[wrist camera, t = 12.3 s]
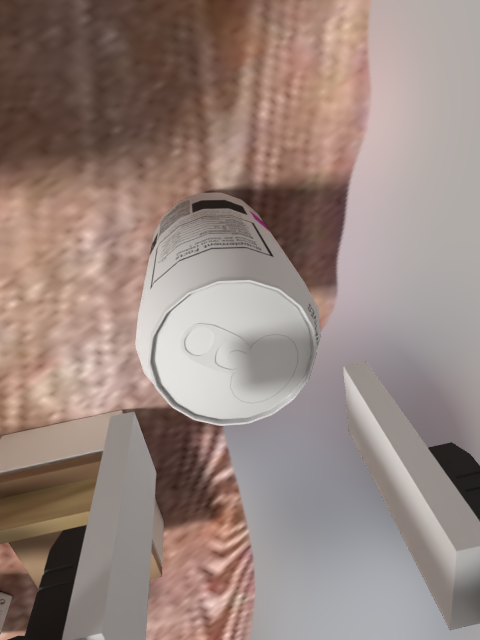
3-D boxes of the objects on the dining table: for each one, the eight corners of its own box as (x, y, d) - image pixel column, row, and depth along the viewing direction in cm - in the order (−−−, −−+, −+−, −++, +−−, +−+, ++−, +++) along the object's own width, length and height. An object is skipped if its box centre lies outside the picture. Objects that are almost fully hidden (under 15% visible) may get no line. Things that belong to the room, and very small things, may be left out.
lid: (-22, 480, 32) (-45, 524, 29) (114, 450, 32) (106, 491, 29) (49, 593, 39) (37, 640, 35) (162, 567, 39) (160, 612, 35)
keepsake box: (2, 435, 36) (-20, 476, 32) (121, 409, 37) (114, 446, 33) (62, 544, 43) (50, 588, 39) (163, 521, 43) (162, 563, 39)
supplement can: (289, 226, 31) (369, 319, 18) (231, 318, 34) (264, 458, 21) (187, 166, 29) (193, 224, 16) (133, 272, 32) (99, 397, 18)
